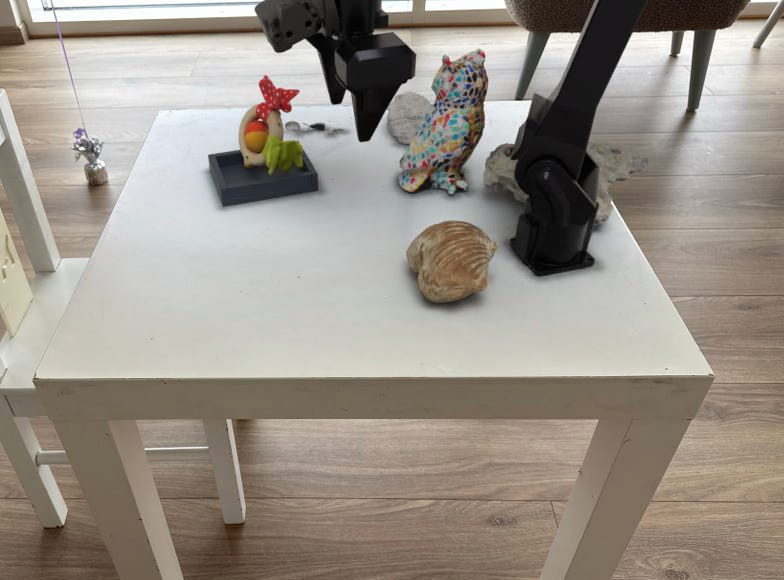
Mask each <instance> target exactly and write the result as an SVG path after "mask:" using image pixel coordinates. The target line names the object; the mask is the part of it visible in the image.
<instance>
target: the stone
mask: <svg viewBox="0 0 784 580" xmlns="http://www.w3.org/2000/svg"><path fill="white" fill-rule="evenodd" d="M432 105H433V103H431V102H430V100H428V99H427V98H426V97H425V96H424V95H421V94H419V93H417V92H413V91H406V92H404V93H403V92H402V93H399V94H395V96H394V98H393V100H392V101H391V102H390V104H389V106H388V108H387V110H386V111H388V113H387V116H386V128H387V131H388V132H389V133H390V134H391V136H393V137H395V138H396V140H397V142H399V143H401V144H402V145H410V144H411V142H412V140H413V139H414V137H415V135H416V133H417V131H418V129H419V127H420V124H421V123H422V121H423V119H424V117H425V115H426V114H427V112H428V110H429V109H430V107H431V106H432Z"/></svg>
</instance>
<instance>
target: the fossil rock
mask: <svg viewBox="0 0 784 580" xmlns="http://www.w3.org/2000/svg"><path fill="white" fill-rule="evenodd" d="M514 144H515V143H508V142H506V143H502V144H500V145H498V146H496V148H495V149H494V150H492V151H490V153H489V155H488V156H487V158H486V159H485V164H484V166H485V167H484V168H485V170H484V171H483V183H482V185H484V188H485V189H487V190H491V191H492V192H497V191H498V192H499V191H504V192H512V193H513V198H514V199H515V200H516V201H518V202H521V203H522V204H524V205H525V201H526V198H528V197H529V196H528V195H526V194H525V193H524V192H523V191H522V190H521V189H520V188H519V186H518V184H517V182H516V181H515V179H514V171H515V166H516V162H517V160H511V159H510V158H511V155H512V151H513V148H514ZM586 150H587V151H588V153H589V154H590V155H591V156H592V158H593V159H594V160H595V161H596V162H597V164H598V165H599V167H600V170H599V181H598V191H597V202H598V203H599V207H598V211H597V215H596V218H595V222H594V225H595V226H597V227H598V226H601V225H604V224H605V223H606V222H607V220H608V219H609V218H610V214H611V212H612V211H614V205H612V201H614V198H613V196H612V195H610V193H609V192H608V191H609V189H611V188H612V184H614V183H616V182H625V181H626V180H629V179H630V178H631V174H638V173H639V172H641V171H643V170H645V169H646V168H647V166H648V163H649V159H648V157H640V156H631V155H628V154H626V153H624V150H623V149H622V148H619V147H611V146H609V145H607V144H600V143H598V144H597V143H595V142H592V141H588V145H587V149H586Z"/></svg>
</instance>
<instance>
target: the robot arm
mask: <svg viewBox="0 0 784 580" xmlns="http://www.w3.org/2000/svg"><path fill="white" fill-rule="evenodd" d="M648 2H649V0H594V2H593V4H592V6H591V9H590V11H589V13H588V15H587V18H586V20H585V22H584V25H583V28H582V29H581V32H580V33H579V37H578V38H577V40H576V44H575V46H574V48H573V51H572V53H571V55H570V57H569V60H568V63H567V65H566V67H565V68H564V69H565V70H564V72H563V73H562V76H561V78H560V81H559V83H558V84H557V85H556V86H555V88H554V89H553V90H552V91H551V93H550V94H549V96H548V97H544V96H542V95H541V94H539V93H537V92H534V93H533V95H532V98H531V103H530V106H529V110H528V113H527V117H526V119H525V121H524V122H523V123H522V124H521V125H520V126H519V127H518V131H517V134H516V137H515V141H514V143H513V144H514V148H513V151H512V155H511V158H510V159H511V160H517V162H516V166H515V171H514V179H515V181H516V182H517V184H518V186H519V188H520V189H521V190H522V191H523V192H524V193H525V194H526V195H528V196H529V197H528V198H526V201H525V204H524V208H523V213H520V214H519V216H518V221H517V226H516V231H515V236H514V237H511V238H510V239H509V243H508V244H509V245H510V247H511V248H512V249H513V250H514V251H515V253H517V254H518V256H519V257H520V258H521V259H522V260H523V262H524V263H525V264H526V265H527V266H528V267H529V269H531V271H532V272H533V273H534V274H535V275H537V276H545V275H550V274H555V273H561V272H566V271H571V270H576V269H581V268H586V267H590V266H594V265H595V262H596V259H595V257H594V256H593V255H592V254H591V253H590V252H588V249H589V245H590V241H591V237H592V233H593V230H594V225H595V224H594V222H595V218H596V215H597V211H598V207H599V203H598V202H597V191H598V181H599V170H600V167H599V165H598V164H597V162H596V161H595V160H594V159H593V158H592V156H591V155H590V154H589V153H588V151H587V150H586V149H587V145H588V141H589V140H590V137H591V133H592V129H593V124H594V121H595V117H596V113H597V109H598V106H599V105H600V102H601V100H602V98H603V96H604V93H606V89H607V88H608V85H609V83H610V81H611V79H612V78H613V75H614V72H615V71H616V68H617V67H618V65H619V63H620V60H621V58H622V56H623V54H624V52H625V49H626V48H627V46H628V44H629V41H630V39H631V37H632V35H633V33H634V31H635V29H636V26H637V24H638V23H639V20H640V19H641V16H642V14H643V12H644V11H645V8H646V6H647V4H648ZM382 4H383V0H262V1H261V2H259V3H257V4H256V6H254V12H255V15H256V17H257V19H258V22H259V24H260V26H261V29H262V31H263V33H264V36H265V38H266V40H267V42H268V43H269V44H270V46H271V47H272V49H273V51H274V52H275V53H276V54H282V53H286V52H287V51H290V50H291V49H292V48H293V46H294V45H296V44H299V43H300V42H302V41H304V40H306V41H307V42H308V43H309V45H311V46H312V47H313V48H314V49H315V50H316V53H317V55H318V59H319V63H320V66H321V70H322V74H323V78H324V81H325V85H326V89H327V93H328V94H327V95H328V97H329V101H330V104H331V105H332V106H336V105H337V106H338V105H342V103H343V101H344V97H345V94H346V92H347V91H348V92H349V93H350V97H351V103H352V110H353V117H354V125H355V131H356V136H357V141H358V142H359V143H366V142H370V141H371V139H372V138H373V136H374V134H375V132H376V130H377V128H378V127H379V124H380V122H381V121H382V119H383V117H384V115H385V113H386V111H388V110H387V108H388V106H389V104H390V103H391V102H393V100H394V99H395V96H396V95H397V93H398V91H400V90H399V89H400V88H401V87H402V85H405V84H407V83H408V81H409V80H412V79H413V78H415V77H416V69H417V68H416V67H417V66H416V65H417V53H416V52H415V51H414V50H413V49H412V48H411V47H410V46H409V45H408V44H407V43H406V42H405V41H404V40H403V39H401V38H400V37H399V36H398V35H397V34H396V33H395V32H394V31H390V32H383V33H375V30H376V29H382V28H388V27H389V16H390V15H389V14H388V13H387V12H386V11H385V10H383V8H382V7H383V6H382ZM589 142H590V141H589Z"/></svg>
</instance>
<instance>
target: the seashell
mask: <svg viewBox="0 0 784 580" xmlns="http://www.w3.org/2000/svg"><path fill="white" fill-rule="evenodd" d="M498 249H499V244H498V243H497V242H496V241H493V240H492V239H491V238H490V237H489V235H488V234H487V233H485V232H484V230H482V229H481V228H480V227H478V226H477V225H475V224H473V223H471V222H468V221H464V220H463V221H462V220H451V219H450V220H444V221H442V222H439V223H434V224H432V225H429V226H427V227H426V228H425V229H424V230H422V232H420V233H419V234H418V235H417V236H416V237H415V238H414V239H413V240H412V241H411V242H410V244H409V246H408V247H407V250H406V251H405V255H406V258H407V261H408V266H409V269H410V270H411V271H413V272H415V273H416V274H418V275H417V276H418V277H417V281H418V282H417V283H418V284H417V285H418V287H419V291H420V292H421V294H423V296H424V297H425V298H426V299H427V300H429V301H430V302H433V303H435V304H443V303H451V302H455V301H459V300H462V299H464V298H467V297H468V296H470V295H471V294H473V293H475V292H483V291H484V290H486V289H487V286H488V285H489V282H488V281H489V280H488V271H489V270H488V268H489V263H490V262H491V261H492V259H493V257H495V254H496V252H497V250H498Z"/></svg>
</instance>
